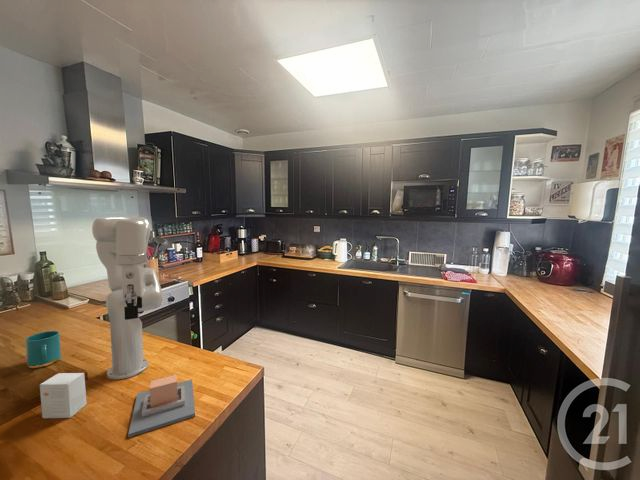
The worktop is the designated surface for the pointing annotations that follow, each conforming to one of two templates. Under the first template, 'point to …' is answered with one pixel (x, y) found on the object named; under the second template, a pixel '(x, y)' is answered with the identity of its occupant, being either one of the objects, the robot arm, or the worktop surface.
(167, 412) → the nest board
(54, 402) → the small box
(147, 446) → the worktop surface
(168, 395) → the key block
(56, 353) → the cup
